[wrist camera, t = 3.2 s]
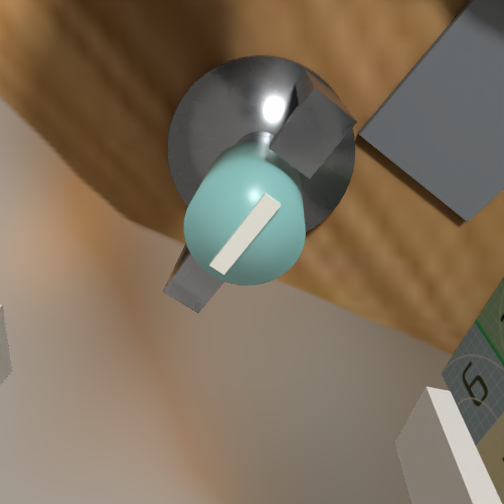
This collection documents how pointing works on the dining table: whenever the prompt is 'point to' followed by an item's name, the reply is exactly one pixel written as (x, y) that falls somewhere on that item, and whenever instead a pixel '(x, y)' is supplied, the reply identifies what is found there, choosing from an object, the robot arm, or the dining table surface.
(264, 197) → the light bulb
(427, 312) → the dining table surface
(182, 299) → the grey metal piece
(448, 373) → the printed tall block
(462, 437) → the robot arm
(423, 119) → the coaster
